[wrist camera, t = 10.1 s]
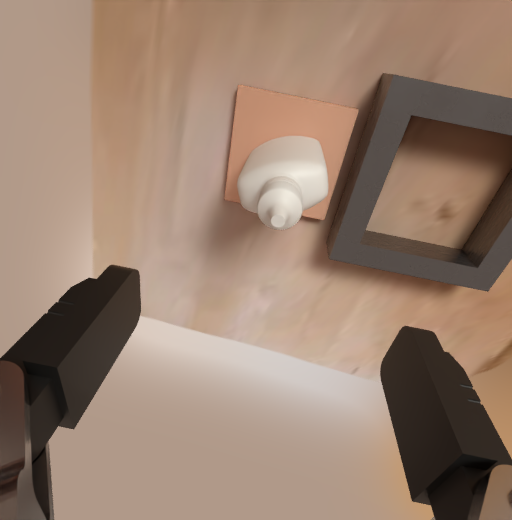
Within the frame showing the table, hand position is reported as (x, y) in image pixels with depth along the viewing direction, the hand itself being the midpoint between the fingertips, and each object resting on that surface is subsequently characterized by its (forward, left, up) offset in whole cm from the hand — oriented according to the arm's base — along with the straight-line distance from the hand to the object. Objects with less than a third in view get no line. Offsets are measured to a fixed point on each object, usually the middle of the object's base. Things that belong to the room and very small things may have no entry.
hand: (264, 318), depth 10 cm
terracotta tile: (0, 0, -20) cm, 20 cm away
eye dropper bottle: (0, 0, -19) cm, 19 cm away
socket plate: (0, +12, -20) cm, 23 cm away
